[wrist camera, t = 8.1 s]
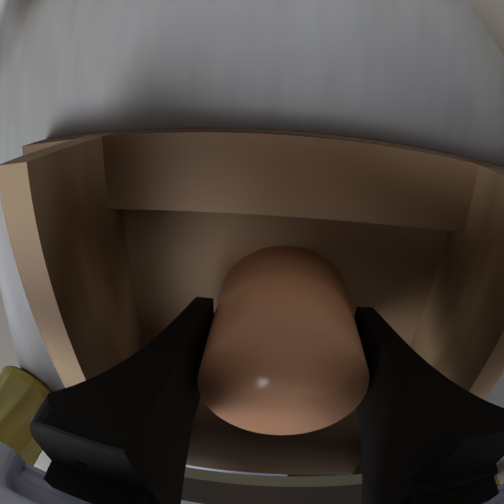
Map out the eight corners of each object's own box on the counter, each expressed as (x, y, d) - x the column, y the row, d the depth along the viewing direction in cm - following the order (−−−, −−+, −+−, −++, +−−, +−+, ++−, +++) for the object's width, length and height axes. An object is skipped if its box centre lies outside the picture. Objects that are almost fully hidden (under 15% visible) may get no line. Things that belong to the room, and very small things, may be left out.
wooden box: (399, 450, 19) (410, 510, 14) (125, 434, 20) (104, 493, 15) (522, 172, 10) (607, 219, 5) (44, 139, 11) (-52, 174, 6)
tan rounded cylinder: (332, 351, 14) (344, 435, 10) (220, 344, 14) (202, 427, 10) (357, 251, 12) (392, 331, 8) (220, 240, 12) (191, 318, 8)
